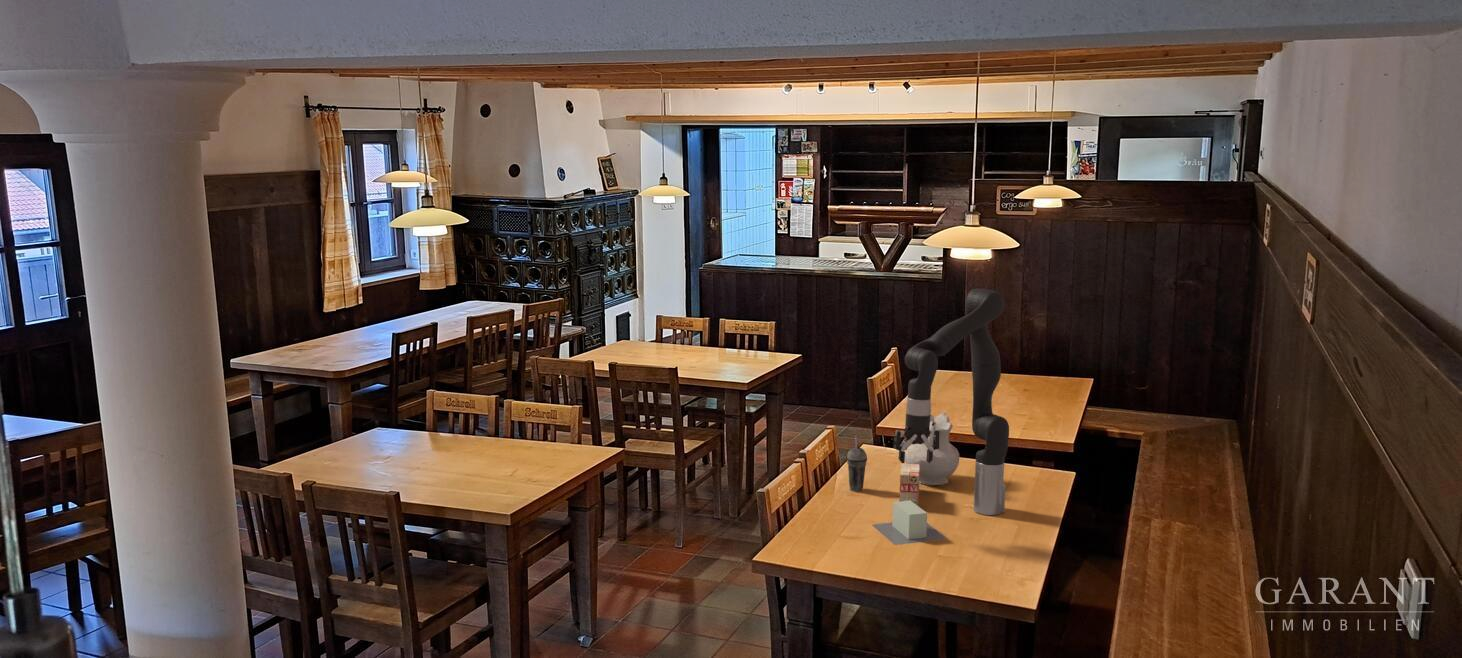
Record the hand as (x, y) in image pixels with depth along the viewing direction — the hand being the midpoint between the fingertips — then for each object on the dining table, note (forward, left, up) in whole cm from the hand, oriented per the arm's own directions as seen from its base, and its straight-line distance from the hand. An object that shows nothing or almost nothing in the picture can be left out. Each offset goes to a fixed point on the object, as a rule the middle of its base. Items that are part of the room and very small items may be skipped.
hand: (915, 462), depth 329 cm
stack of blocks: (-12, -28, -23) cm, 38 cm away
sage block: (+2, +1, -22) cm, 22 cm away
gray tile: (+2, +1, -23) cm, 23 cm away
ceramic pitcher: (-28, -43, -23) cm, 56 cm away
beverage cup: (+2, -42, -23) cm, 48 cm away
